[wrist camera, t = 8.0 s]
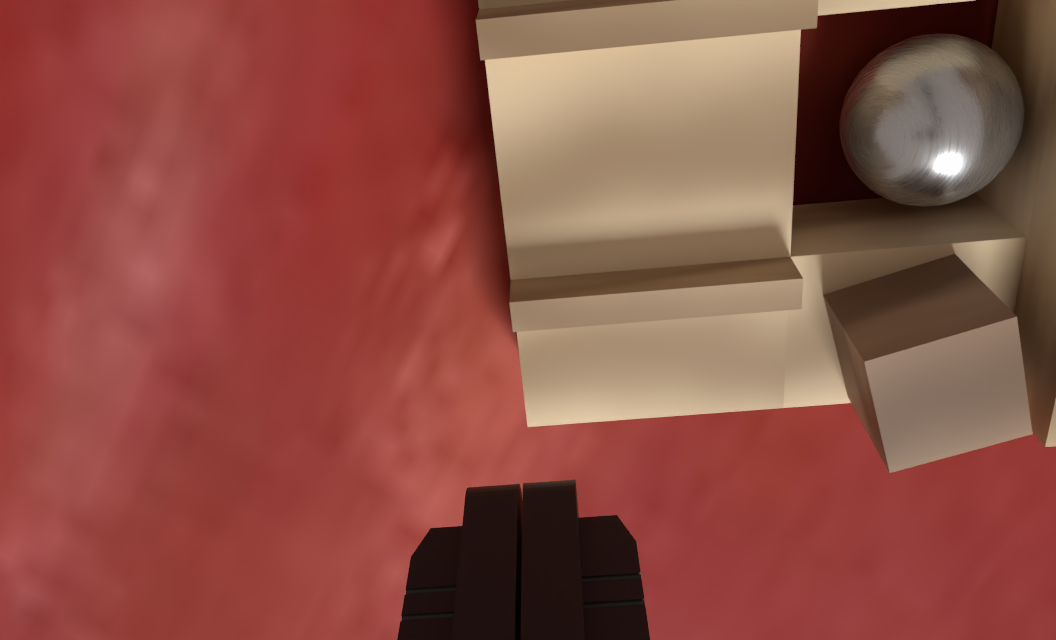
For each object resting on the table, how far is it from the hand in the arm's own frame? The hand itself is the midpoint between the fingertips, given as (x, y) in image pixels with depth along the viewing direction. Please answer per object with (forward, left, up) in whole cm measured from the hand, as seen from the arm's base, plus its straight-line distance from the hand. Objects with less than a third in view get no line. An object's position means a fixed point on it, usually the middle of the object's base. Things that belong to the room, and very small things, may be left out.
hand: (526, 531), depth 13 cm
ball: (0, +12, -17) cm, 21 cm away
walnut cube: (+6, +11, -15) cm, 20 cm away
